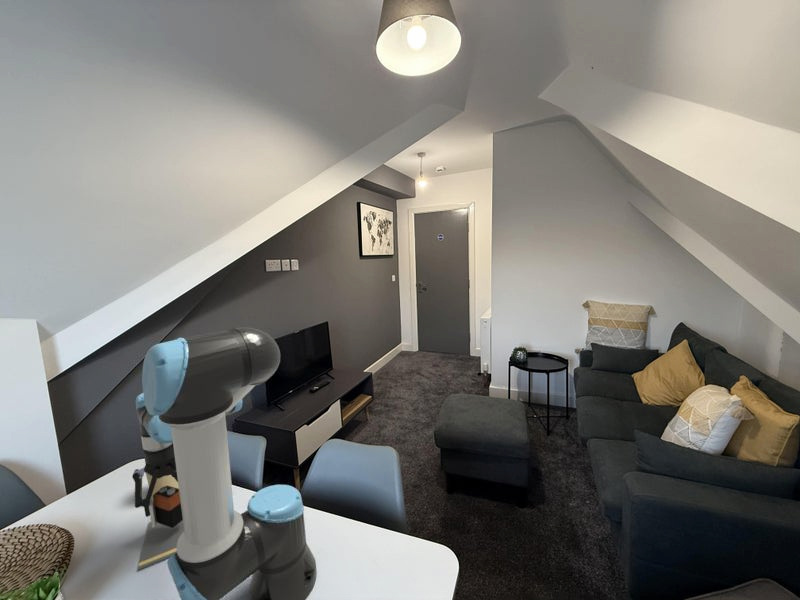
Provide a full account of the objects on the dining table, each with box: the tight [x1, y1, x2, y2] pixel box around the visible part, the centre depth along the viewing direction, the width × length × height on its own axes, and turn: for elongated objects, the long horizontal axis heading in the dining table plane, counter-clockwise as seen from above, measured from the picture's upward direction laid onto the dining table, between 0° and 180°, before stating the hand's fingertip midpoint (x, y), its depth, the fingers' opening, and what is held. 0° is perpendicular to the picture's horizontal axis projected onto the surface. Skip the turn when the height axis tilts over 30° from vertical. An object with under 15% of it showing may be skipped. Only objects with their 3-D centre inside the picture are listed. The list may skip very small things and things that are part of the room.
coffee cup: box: [144, 472, 179, 500], centre depth 110 cm, size 9×9×12 cm
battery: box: [152, 486, 183, 528], centre depth 93 cm, size 4×7×10 cm, turn 70°
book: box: [137, 520, 184, 572], centre depth 94 cm, size 18×14×1 cm
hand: (171, 517), depth 94 cm, fingers closed on battery, 7 cm apart
